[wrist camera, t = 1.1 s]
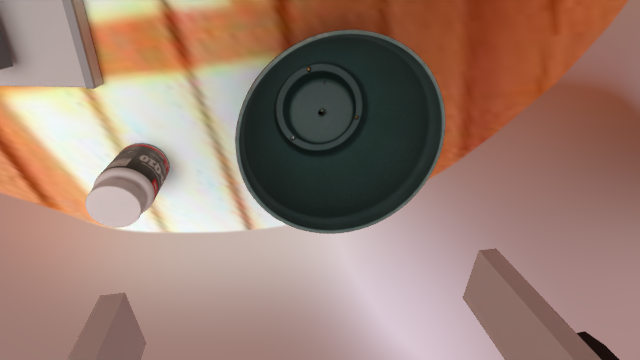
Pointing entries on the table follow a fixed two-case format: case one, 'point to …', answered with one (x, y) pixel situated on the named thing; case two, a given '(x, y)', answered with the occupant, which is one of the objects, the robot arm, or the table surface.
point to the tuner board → (48, 44)
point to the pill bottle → (127, 186)
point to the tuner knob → (4, 55)
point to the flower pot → (340, 131)
